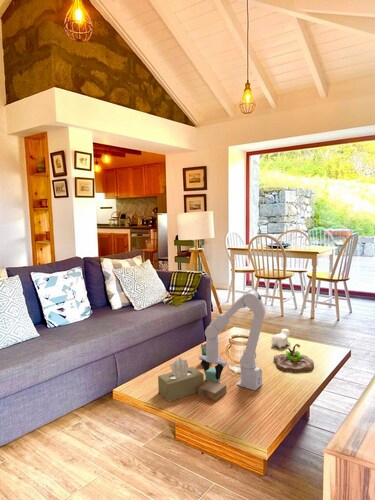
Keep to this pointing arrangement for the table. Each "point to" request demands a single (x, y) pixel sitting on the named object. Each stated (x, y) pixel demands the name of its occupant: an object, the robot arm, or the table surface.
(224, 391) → the walnut block
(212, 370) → the teal cube
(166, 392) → the tissue box
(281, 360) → the plant
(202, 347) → the food container
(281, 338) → the white animal figurine
